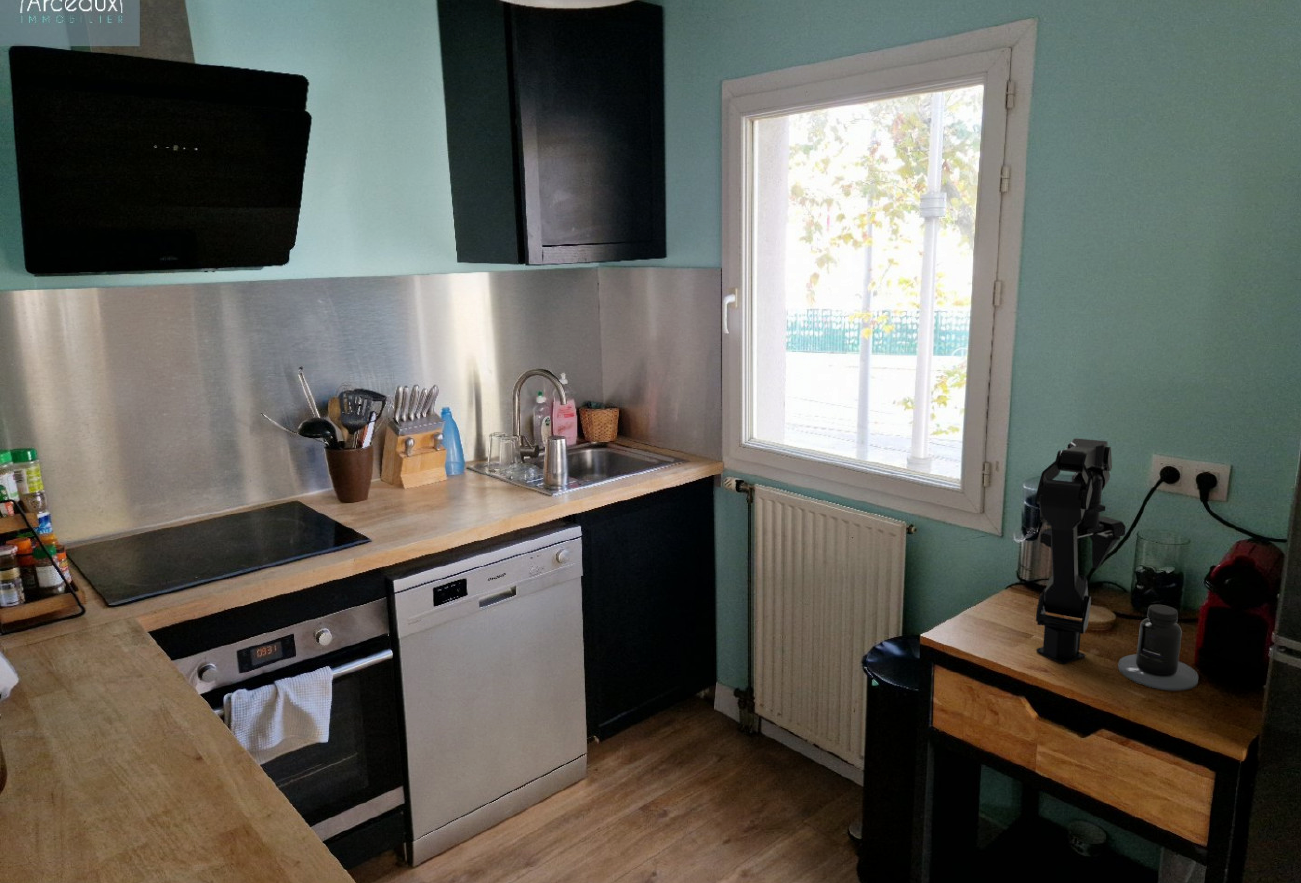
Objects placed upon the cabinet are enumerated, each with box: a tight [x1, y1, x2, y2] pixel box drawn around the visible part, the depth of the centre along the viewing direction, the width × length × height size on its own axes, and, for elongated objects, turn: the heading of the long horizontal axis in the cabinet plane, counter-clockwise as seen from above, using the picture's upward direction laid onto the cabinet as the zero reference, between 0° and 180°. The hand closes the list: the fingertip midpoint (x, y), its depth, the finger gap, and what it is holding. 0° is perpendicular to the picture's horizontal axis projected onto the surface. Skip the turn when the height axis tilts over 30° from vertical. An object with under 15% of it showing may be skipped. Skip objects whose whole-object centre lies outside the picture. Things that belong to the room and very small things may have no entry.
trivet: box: [1117, 653, 1199, 692], centre depth 166 cm, size 13×13×1 cm
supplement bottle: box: [1136, 604, 1183, 677], centre depth 165 cm, size 7×7×12 cm
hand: (1079, 571), depth 185 cm, fingers open, 9 cm apart
